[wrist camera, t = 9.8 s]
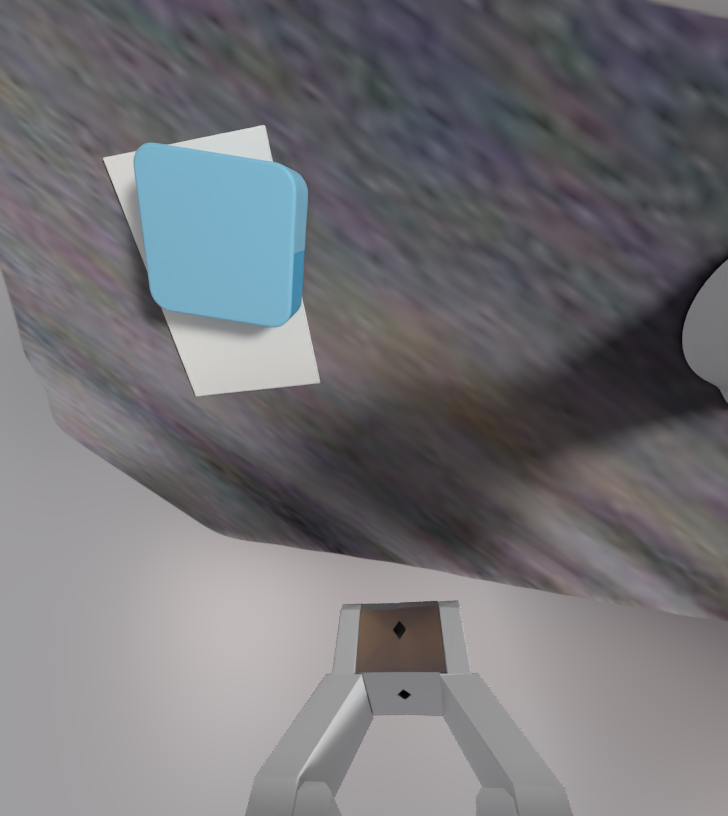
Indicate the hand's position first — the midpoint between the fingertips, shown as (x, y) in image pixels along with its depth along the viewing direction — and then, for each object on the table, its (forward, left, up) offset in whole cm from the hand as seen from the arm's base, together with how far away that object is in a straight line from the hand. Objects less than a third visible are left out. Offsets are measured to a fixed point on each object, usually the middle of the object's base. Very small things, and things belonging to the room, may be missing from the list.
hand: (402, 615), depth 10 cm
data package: (+7, -8, -26) cm, 28 cm away
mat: (+15, -6, -29) cm, 33 cm away
